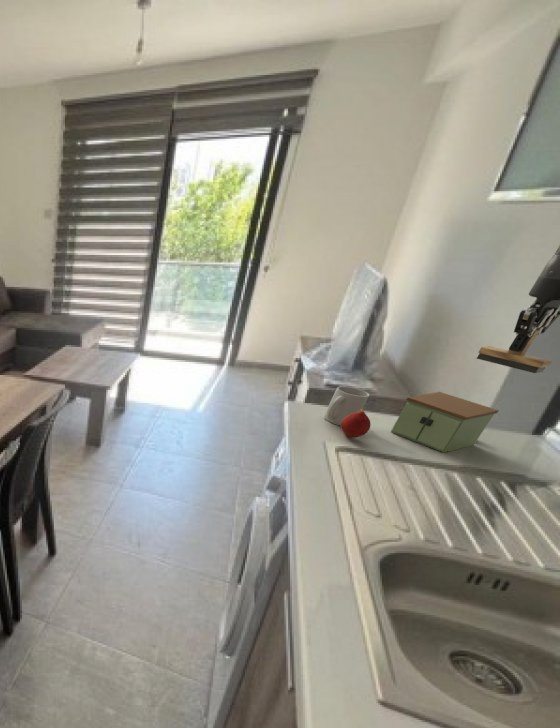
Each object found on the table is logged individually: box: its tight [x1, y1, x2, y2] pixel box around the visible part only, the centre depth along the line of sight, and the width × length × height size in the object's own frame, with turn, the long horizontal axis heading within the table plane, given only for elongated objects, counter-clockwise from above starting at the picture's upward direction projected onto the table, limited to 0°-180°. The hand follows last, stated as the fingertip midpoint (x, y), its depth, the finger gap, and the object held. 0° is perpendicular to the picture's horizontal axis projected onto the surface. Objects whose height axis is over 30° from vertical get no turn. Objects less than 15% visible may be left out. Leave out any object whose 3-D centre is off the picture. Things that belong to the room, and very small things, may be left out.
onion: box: [340, 409, 372, 439], centre depth 122 cm, size 6×6×8 cm
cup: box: [323, 385, 370, 426], centre depth 131 cm, size 7×10×9 cm
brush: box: [476, 327, 553, 374], centre depth 118 cm, size 12×4×9 cm, turn 22°
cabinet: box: [390, 391, 499, 453], centre depth 124 cm, size 13×15×10 cm
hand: (517, 350), depth 118 cm, fingers closed on brush, 2 cm apart
